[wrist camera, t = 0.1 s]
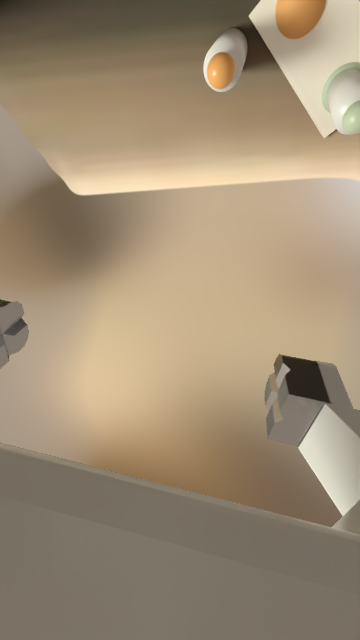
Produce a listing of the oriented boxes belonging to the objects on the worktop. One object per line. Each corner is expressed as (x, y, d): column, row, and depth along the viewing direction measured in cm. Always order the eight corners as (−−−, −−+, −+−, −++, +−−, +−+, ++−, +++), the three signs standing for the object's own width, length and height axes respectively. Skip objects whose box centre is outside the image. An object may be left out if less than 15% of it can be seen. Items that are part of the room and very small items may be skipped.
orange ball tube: (233, 17, 39) (221, 33, 30) (254, 51, 41) (248, 74, 33) (207, 52, 42) (190, 74, 34) (228, 81, 44) (217, 109, 36)
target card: (323, -81, 31) (323, -82, 31) (393, 81, 40) (395, 83, 39) (249, 15, 38) (248, 16, 37) (323, 136, 47) (324, 138, 46)
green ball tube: (354, 58, 38) (374, 85, 30) (370, 89, 41) (392, 122, 32) (319, 89, 42) (329, 121, 34) (335, 117, 44) (348, 153, 36)
